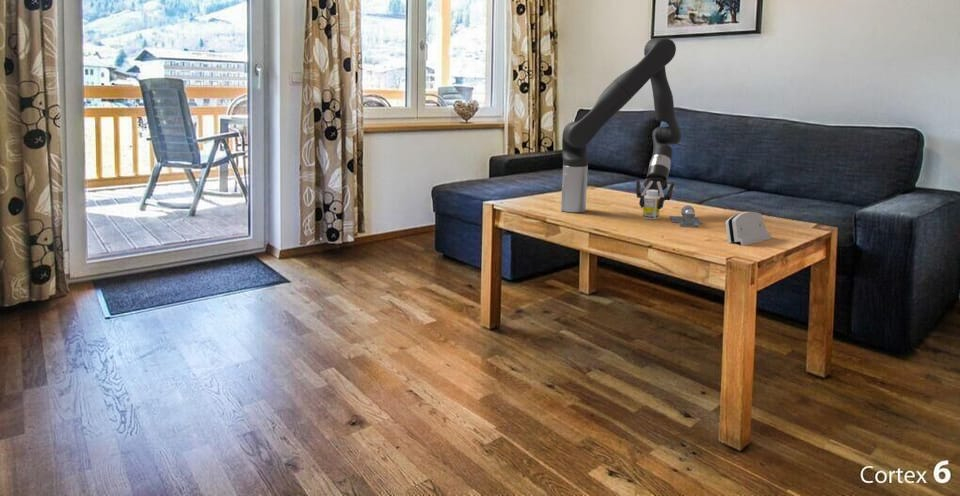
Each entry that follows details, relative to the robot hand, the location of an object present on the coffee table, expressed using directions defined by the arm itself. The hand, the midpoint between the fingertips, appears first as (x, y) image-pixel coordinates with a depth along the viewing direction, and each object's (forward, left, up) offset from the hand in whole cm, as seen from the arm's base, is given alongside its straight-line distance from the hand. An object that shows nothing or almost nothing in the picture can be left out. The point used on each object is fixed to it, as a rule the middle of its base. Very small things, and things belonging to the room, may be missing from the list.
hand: (650, 207), depth 237 cm
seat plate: (+12, +1, -4) cm, 13 cm away
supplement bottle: (0, +2, -5) cm, 5 cm away
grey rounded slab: (+28, -25, -5) cm, 38 cm away
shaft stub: (+12, -7, -4) cm, 15 cm away
